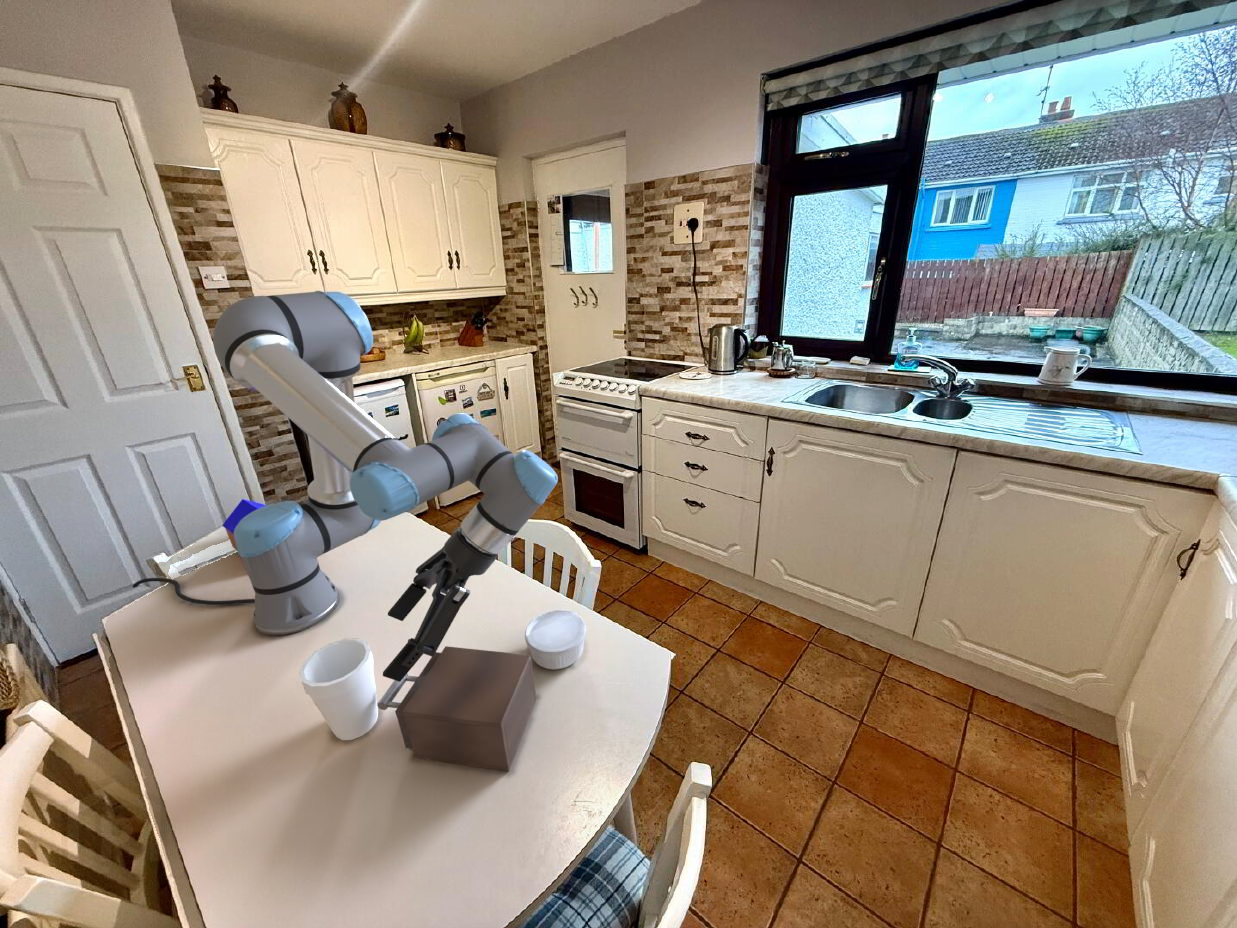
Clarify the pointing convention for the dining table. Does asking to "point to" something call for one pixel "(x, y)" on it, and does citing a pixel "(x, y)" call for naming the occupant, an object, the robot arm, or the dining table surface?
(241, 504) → the house
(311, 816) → the dining table surface
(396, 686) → the drawer
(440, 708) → the cabinet
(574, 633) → the ramekin
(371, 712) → the foam cup
